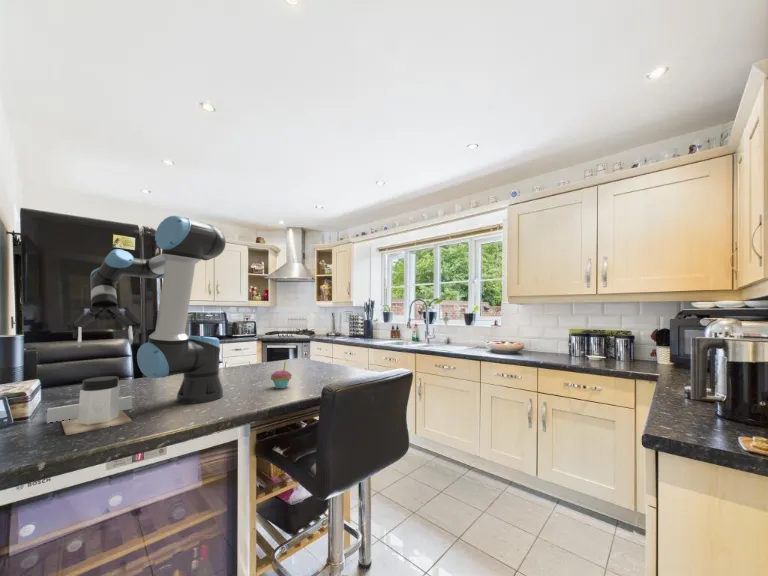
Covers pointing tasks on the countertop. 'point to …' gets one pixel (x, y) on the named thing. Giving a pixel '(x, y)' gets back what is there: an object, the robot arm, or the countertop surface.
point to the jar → (98, 400)
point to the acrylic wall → (73, 410)
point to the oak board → (75, 427)
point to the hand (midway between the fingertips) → (106, 343)
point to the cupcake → (281, 378)
